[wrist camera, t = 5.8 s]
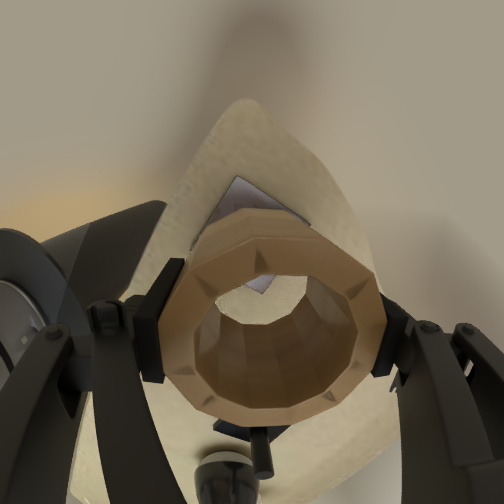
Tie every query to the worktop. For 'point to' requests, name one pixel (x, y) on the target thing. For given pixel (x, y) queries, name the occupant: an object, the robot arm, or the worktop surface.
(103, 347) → the robot arm
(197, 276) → the maple ring
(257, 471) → the square base peg
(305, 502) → the worktop surface
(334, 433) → the worktop surface
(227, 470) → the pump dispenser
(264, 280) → the low peg stand
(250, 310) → the worktop surface
